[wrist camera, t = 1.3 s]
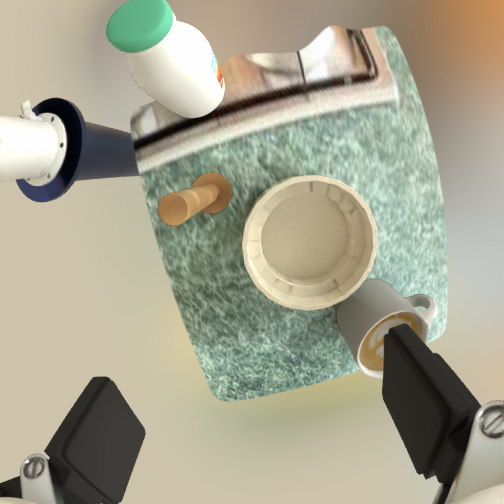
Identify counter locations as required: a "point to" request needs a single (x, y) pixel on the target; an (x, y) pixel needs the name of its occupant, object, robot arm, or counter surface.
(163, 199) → the wooden masher
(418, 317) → the coffee mug
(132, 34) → the milk bottle
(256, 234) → the bowl
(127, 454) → the robot arm
